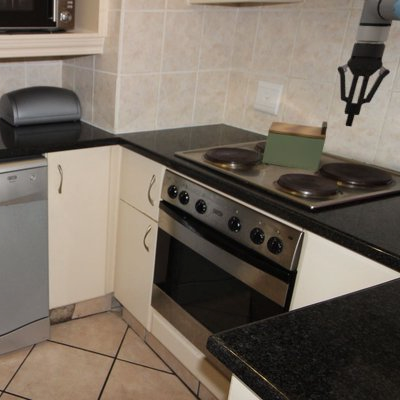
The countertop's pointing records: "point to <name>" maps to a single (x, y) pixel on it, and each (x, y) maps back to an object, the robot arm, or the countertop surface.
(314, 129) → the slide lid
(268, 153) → the caddy
